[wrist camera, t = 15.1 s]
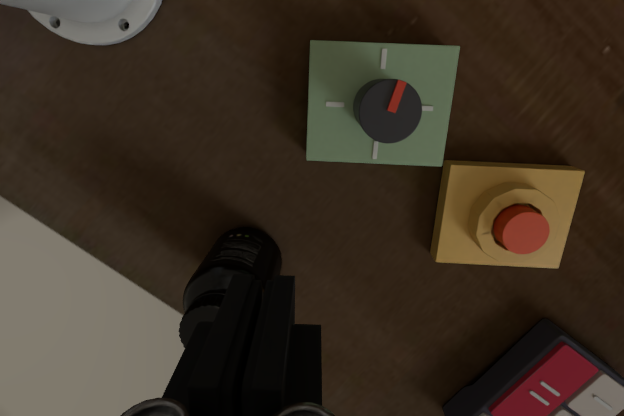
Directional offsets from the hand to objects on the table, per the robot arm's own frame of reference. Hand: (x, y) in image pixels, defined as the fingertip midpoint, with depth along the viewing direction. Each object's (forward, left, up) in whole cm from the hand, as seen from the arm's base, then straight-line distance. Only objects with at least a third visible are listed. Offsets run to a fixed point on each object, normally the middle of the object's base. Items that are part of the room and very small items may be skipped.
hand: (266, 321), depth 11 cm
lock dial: (+5, +5, -22) cm, 23 cm away
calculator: (+24, -24, -25) cm, 43 cm away
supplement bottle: (-6, -10, -25) cm, 28 cm away
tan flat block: (+17, -4, -25) cm, 31 cm away
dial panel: (+5, +5, -25) cm, 26 cm away
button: (+17, -4, -21) cm, 28 cm away
